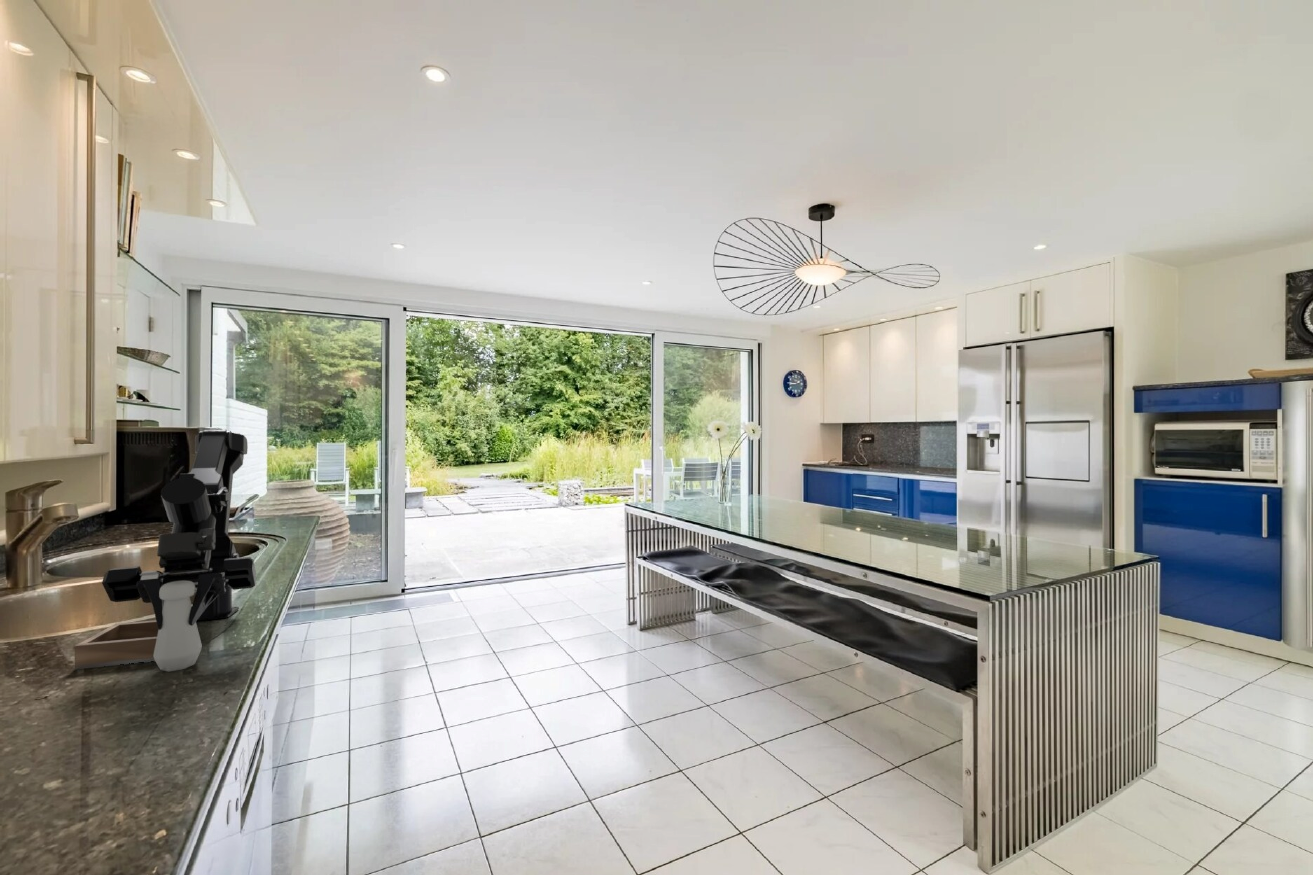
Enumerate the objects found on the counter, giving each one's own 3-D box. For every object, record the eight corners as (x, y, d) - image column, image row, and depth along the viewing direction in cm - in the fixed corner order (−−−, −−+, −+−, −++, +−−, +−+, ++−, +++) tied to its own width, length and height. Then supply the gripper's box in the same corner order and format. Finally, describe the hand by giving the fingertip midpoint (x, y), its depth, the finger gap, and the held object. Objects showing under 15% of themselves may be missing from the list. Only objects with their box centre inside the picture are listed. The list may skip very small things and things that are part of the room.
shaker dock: (115, 644, 100) (115, 623, 100) (192, 637, 103) (192, 617, 103) (74, 669, 90) (74, 645, 90) (162, 660, 93) (161, 637, 93)
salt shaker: (211, 659, 93) (211, 578, 93) (178, 674, 88) (178, 587, 87) (177, 658, 94) (177, 577, 94) (143, 672, 88) (142, 586, 88)
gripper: (105, 516, 90) (77, 607, 80) (253, 508, 98) (243, 589, 89) (123, 558, 97) (99, 646, 87) (259, 547, 105) (251, 626, 96)
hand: (175, 626), depth 89 cm, fingers closed on salt shaker, 3 cm apart
